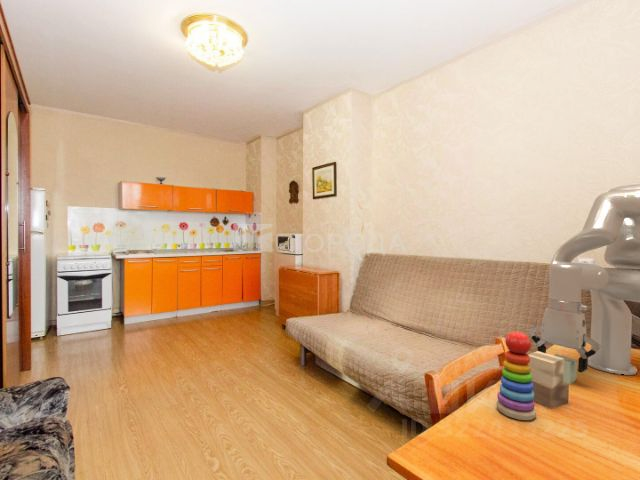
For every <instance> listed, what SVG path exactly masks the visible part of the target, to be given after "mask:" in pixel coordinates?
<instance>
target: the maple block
mask: <svg viewBox="0 0 640 480" xmlns="http://www.w3.org/2000/svg"><path fill="white" fill-rule="evenodd" d="M528 355H529V357H530V362H529V363H528V364H529V365H530V367H531V370H530V373H531V374H532V380H531V381H534V382H537V383H540V384H542V385H545V386H548V387H551V388H554V387H556V386H557V385H559V384H561V383H563V374H564V358H560V357H557V356H554V354H549V353H547V352H546V353H543V352H539V351H538V350H537V351H534V352H531V353H529V354H528Z"/></svg>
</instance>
